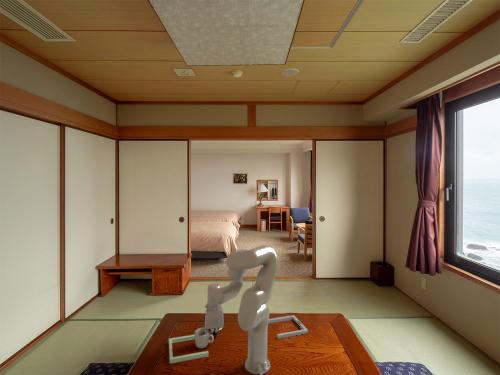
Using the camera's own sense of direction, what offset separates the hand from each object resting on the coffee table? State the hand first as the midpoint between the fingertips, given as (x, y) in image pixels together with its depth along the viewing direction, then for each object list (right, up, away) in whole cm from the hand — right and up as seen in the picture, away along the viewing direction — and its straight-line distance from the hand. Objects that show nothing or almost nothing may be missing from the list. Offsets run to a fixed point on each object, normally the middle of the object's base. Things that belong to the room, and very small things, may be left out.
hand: (213, 338), depth 156 cm
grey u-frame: (+42, -3, +17) cm, 46 cm away
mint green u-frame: (-13, -3, -5) cm, 14 cm away
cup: (-5, -3, -2) cm, 6 cm away
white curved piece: (-3, -3, +20) cm, 20 cm away
